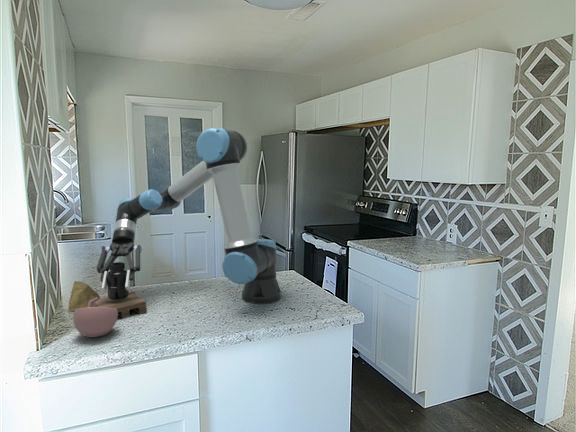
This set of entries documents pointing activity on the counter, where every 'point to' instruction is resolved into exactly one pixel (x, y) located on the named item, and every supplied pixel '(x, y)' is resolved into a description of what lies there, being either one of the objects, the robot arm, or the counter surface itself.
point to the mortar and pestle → (94, 319)
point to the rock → (81, 296)
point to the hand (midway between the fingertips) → (115, 289)
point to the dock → (123, 304)
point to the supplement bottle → (117, 281)
